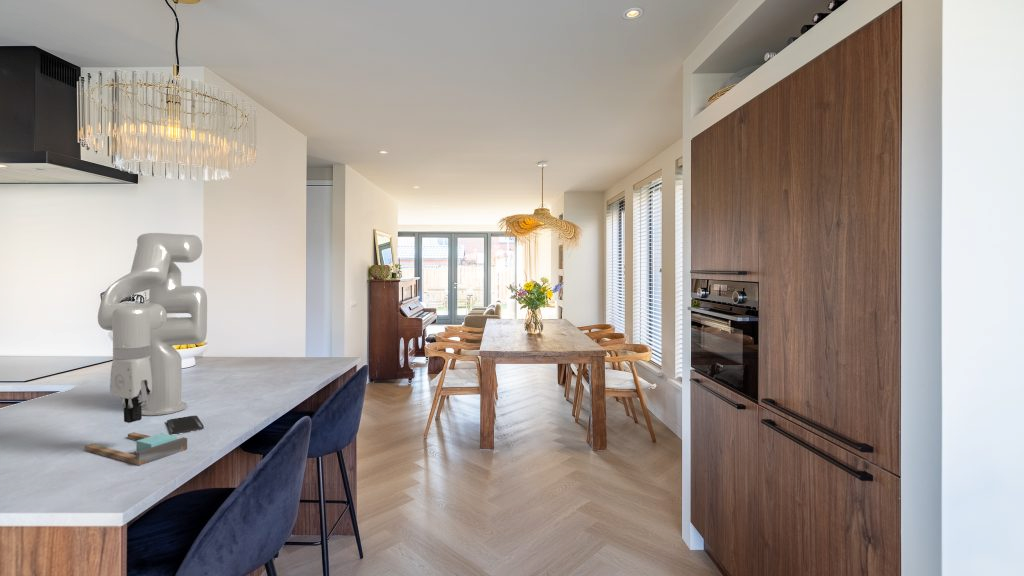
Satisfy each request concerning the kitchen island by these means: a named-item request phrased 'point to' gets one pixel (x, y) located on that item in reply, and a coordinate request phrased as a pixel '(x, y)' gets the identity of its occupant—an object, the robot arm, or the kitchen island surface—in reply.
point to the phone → (184, 424)
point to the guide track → (142, 455)
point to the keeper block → (154, 441)
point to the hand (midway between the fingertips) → (132, 420)
